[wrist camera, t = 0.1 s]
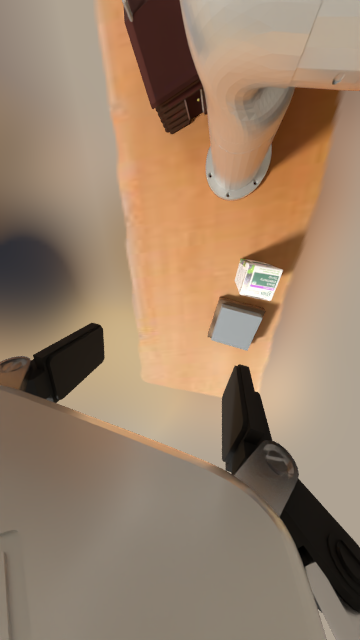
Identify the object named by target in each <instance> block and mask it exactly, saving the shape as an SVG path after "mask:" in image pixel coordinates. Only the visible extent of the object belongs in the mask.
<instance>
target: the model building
mask: <svg viewBox="0 0 360 640" xmlns="http://www.w3.org/2000/svg"><path fill="white" fill-rule="evenodd" d="M122 2H123V4H124V19H125V25H126V28H127V31H128V34H129V38H130V41H131V44H132V47H133V50H134V53H135V57H136V60H137V63H138V66H139V69H140V72H141V76H142V79H143V82H144V85H145V88H146V91H147V95H148V98H149V101H150V104H151V107H152V109H154V108H155V109H156V111H157V112H158V116H159V117H160V119H161V122H162V123H163V127H164V128H165V131H166V132H170V133H171V134H173V133H174V132H176V131H178V130H179V129H181V128H183V127H184V126H186V125H188V124H189V123H190V120H191V119H192V118H194V117H196V116H197V115H199V114H201V113H202V112H203V113H205V114H207V105H206V98H205V92H204V88H203V85H202V83H201V80H200V78H199V75H198V73H197V70H196V67H195V64H194V61H193V58H192V55H191V52H190V49H189V45H188V41H187V37H186V32H185V27H184V22H183V17H182V11H181V5H180V0H122Z"/></svg>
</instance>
